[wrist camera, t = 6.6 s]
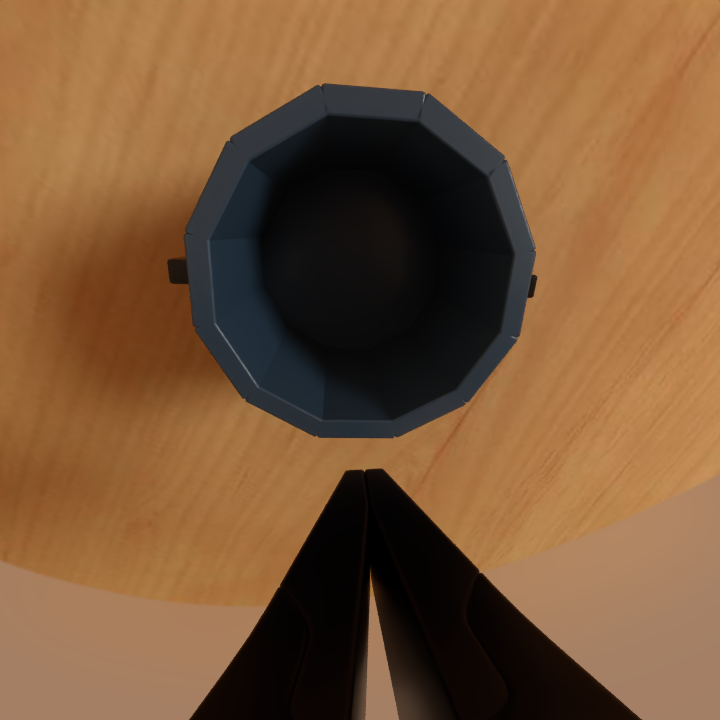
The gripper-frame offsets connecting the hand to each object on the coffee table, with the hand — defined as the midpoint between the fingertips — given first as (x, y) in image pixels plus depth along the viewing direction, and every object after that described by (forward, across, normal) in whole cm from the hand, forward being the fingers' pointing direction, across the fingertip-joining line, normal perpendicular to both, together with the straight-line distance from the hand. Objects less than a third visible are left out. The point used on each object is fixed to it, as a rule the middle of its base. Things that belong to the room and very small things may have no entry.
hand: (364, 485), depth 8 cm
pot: (+4, 0, -1) cm, 4 cm away
